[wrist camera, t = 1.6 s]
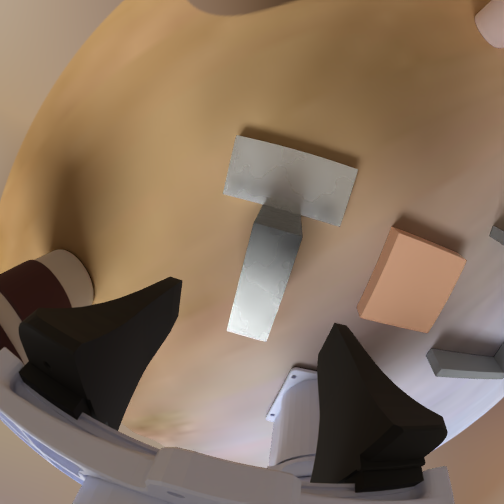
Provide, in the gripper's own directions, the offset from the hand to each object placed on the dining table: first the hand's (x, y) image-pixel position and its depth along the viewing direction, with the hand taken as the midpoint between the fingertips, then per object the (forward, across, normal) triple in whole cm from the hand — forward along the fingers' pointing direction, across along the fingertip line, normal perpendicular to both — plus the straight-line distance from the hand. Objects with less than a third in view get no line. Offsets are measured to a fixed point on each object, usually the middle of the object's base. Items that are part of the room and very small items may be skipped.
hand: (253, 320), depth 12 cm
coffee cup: (+9, +19, +9) cm, 23 cm away
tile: (+9, -12, -1) cm, 15 cm away
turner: (+8, 0, -2) cm, 9 cm away
